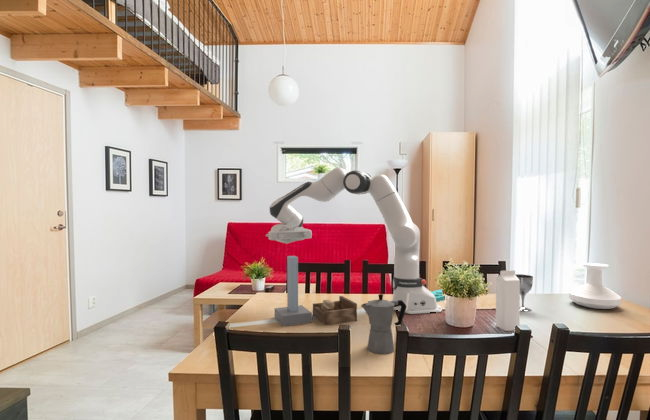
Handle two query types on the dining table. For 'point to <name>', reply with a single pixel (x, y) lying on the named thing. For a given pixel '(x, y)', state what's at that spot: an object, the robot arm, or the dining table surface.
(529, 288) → the wine glass
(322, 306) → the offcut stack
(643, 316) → the dining table surface
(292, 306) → the panel
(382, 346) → the coffeepot
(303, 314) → the stand
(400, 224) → the robot arm
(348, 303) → the brown wooden box
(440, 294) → the alien figure
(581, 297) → the candle holder
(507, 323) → the milk
